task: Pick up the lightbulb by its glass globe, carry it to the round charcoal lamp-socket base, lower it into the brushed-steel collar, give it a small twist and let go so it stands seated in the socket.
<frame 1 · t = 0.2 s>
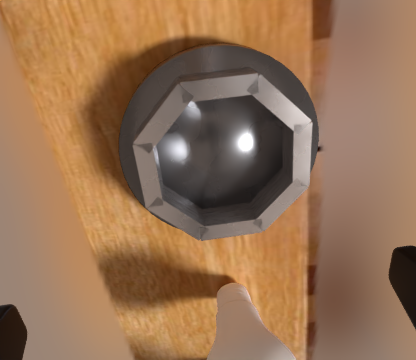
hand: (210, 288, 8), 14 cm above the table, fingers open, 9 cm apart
lightbulb: (230, 285, 27), on the table
socket base: (218, 143, 21), on the table
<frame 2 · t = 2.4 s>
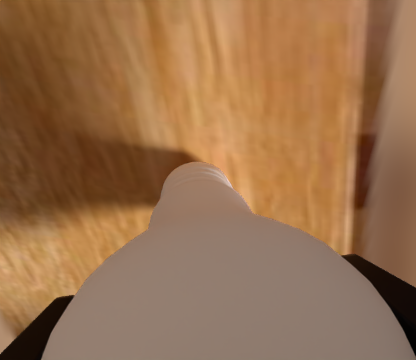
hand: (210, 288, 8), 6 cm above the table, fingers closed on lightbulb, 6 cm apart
lightbulb: (194, 181, 13), on the table, touching gripper
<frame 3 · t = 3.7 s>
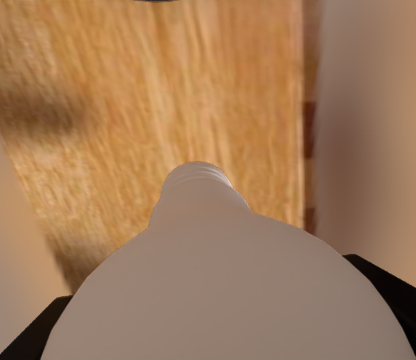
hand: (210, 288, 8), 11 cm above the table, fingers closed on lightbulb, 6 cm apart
lightbulb: (194, 180, 13), point 6 cm above the table, touching gripper
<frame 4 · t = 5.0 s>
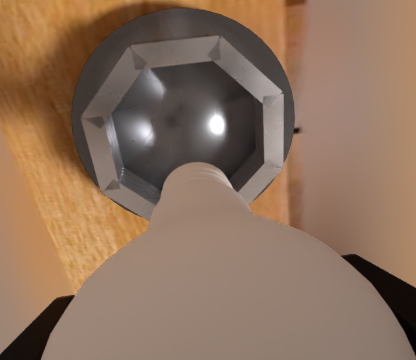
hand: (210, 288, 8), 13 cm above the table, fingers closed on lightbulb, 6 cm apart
lightbulb: (194, 181, 13), point 7 cm above the table, touching gripper
socket base: (185, 124, 20), on the table
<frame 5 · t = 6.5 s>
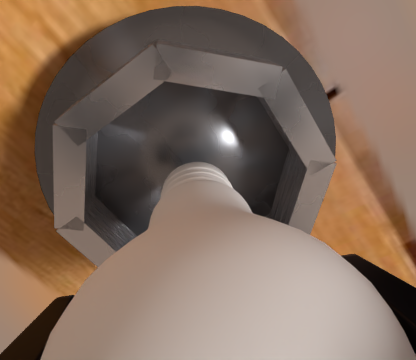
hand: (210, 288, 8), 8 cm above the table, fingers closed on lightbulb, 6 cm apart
lightbulb: (194, 181, 13), point 2 cm above the table, touching gripper
socket base: (190, 157, 15), on the table
when the fingers open (8 cm above the table, at t = 7.6 s): lightbulb stays where it is, resting on socket base.
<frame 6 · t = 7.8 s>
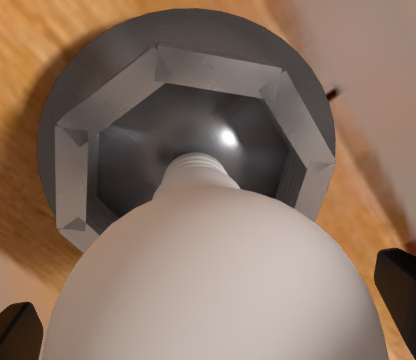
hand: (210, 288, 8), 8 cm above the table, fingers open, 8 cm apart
lightbulb: (193, 171, 14), point 1 cm above the table, touching socket base
socket base: (190, 158, 15), on the table
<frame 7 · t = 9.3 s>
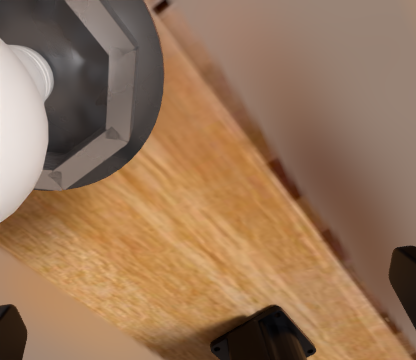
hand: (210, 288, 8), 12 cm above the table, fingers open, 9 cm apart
lightbulb: (31, 72, 15), point 1 cm above the table, touching socket base
socket base: (39, 67, 16), on the table
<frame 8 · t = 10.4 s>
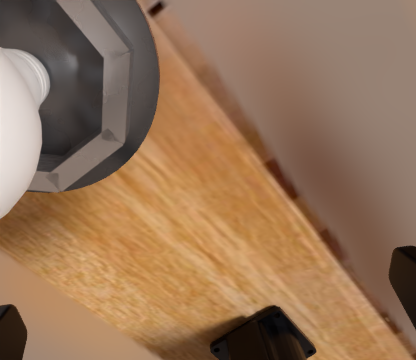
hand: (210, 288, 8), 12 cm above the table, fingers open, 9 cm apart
lightbulb: (28, 75, 15), point 1 cm above the table, touching socket base
socket base: (36, 70, 17), on the table
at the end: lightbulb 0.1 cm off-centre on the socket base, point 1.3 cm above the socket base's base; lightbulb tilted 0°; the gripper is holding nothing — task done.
